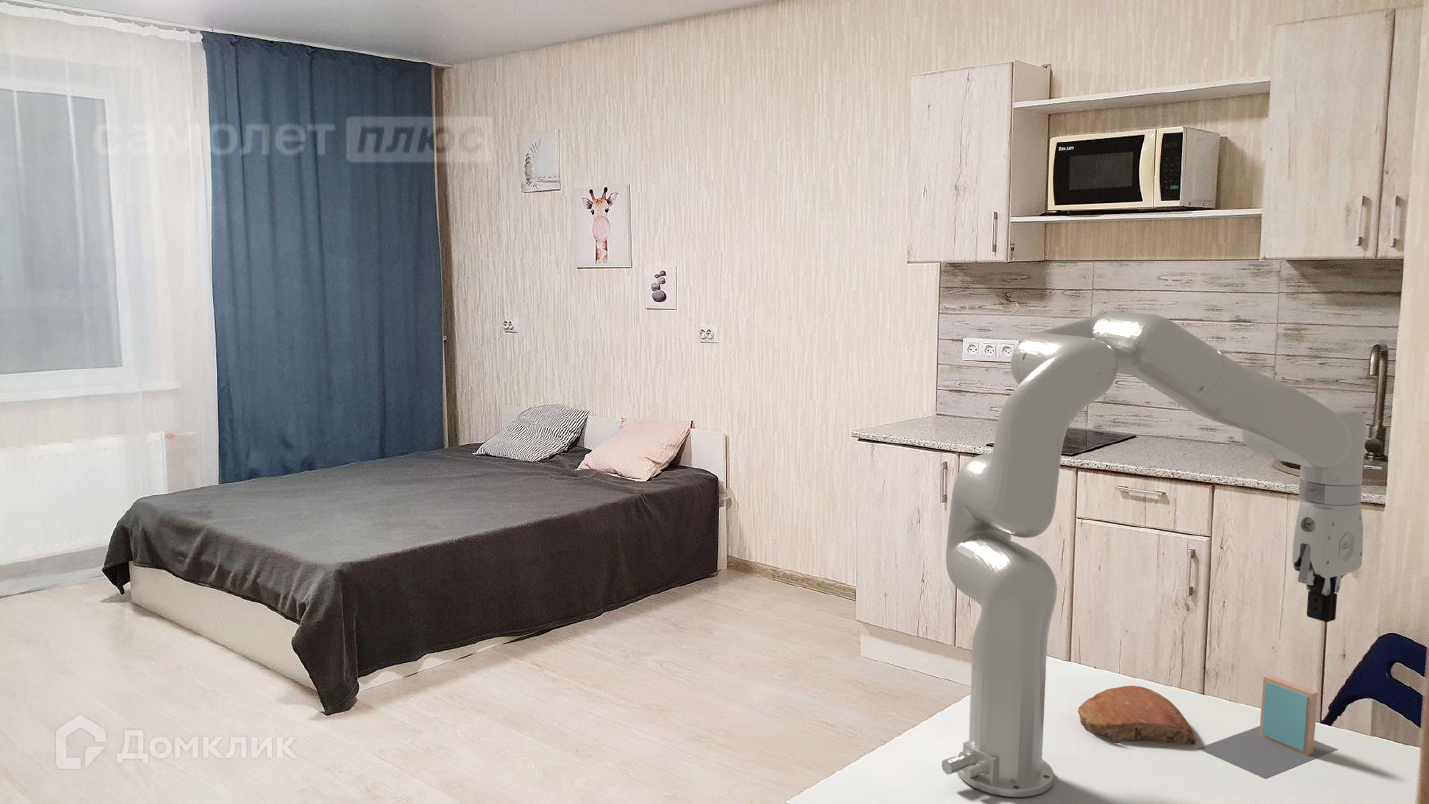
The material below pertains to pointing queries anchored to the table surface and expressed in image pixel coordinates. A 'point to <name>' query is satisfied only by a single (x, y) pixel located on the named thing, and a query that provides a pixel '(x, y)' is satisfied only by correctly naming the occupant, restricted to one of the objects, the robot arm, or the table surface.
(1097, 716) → the ceramic shard
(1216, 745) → the mat
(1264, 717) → the tile
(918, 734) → the table surface
